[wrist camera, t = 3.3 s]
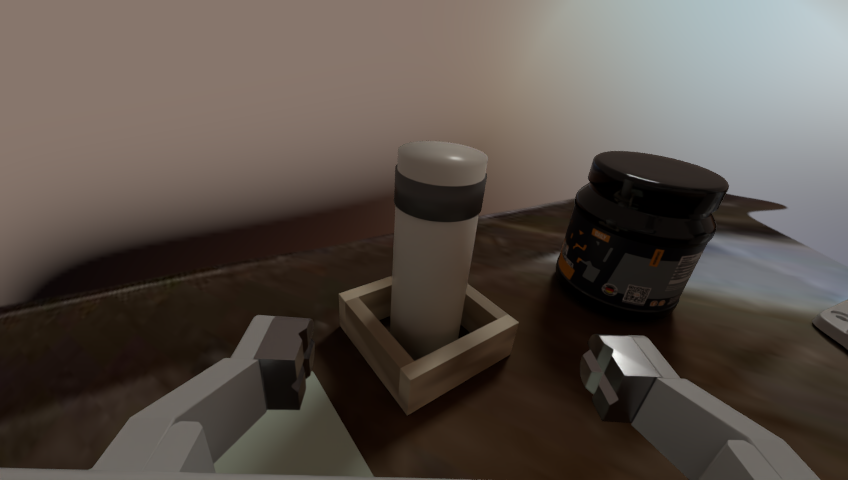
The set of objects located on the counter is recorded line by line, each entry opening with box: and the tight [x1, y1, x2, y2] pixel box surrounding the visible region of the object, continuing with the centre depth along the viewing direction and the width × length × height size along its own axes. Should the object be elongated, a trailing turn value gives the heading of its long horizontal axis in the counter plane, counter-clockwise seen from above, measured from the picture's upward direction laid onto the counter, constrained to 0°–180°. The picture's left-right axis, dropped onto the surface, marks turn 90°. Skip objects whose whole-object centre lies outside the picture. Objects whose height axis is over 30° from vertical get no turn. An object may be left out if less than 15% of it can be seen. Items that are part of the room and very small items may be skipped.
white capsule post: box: [390, 141, 488, 361], centre depth 24 cm, size 5×5×14 cm
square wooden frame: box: [339, 276, 519, 415], centre depth 27 cm, size 9×9×3 cm
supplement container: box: [556, 151, 729, 322], centre depth 32 cm, size 10×10×12 cm
